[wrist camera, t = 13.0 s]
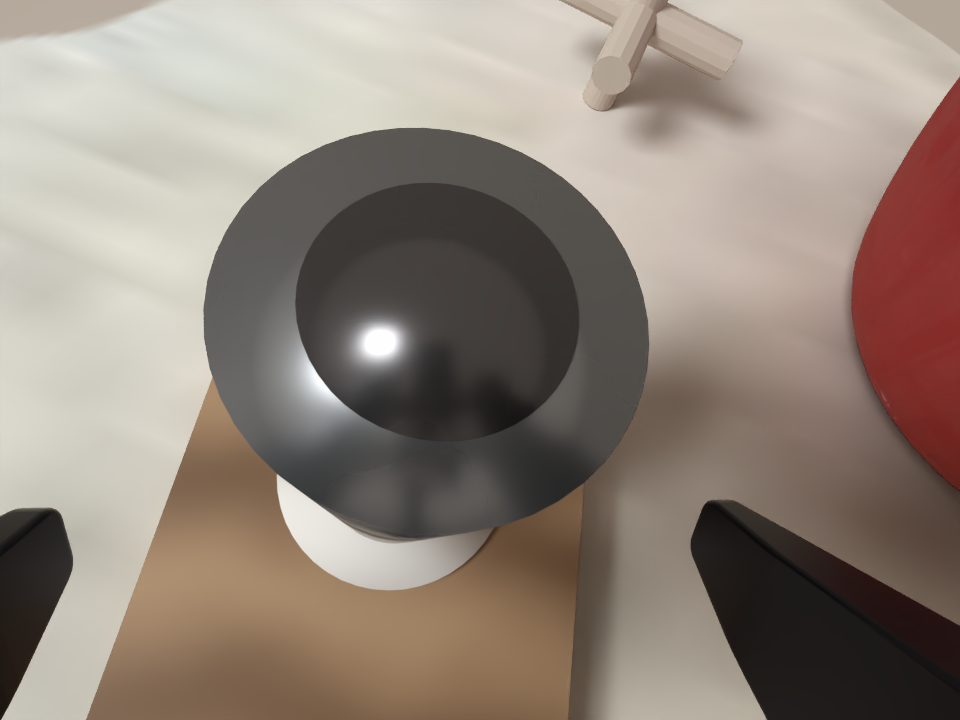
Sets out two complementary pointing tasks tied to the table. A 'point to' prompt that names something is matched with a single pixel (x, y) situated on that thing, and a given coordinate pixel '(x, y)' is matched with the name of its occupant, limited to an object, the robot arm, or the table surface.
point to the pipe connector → (650, 43)
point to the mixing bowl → (917, 293)
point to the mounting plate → (336, 607)
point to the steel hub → (425, 332)
